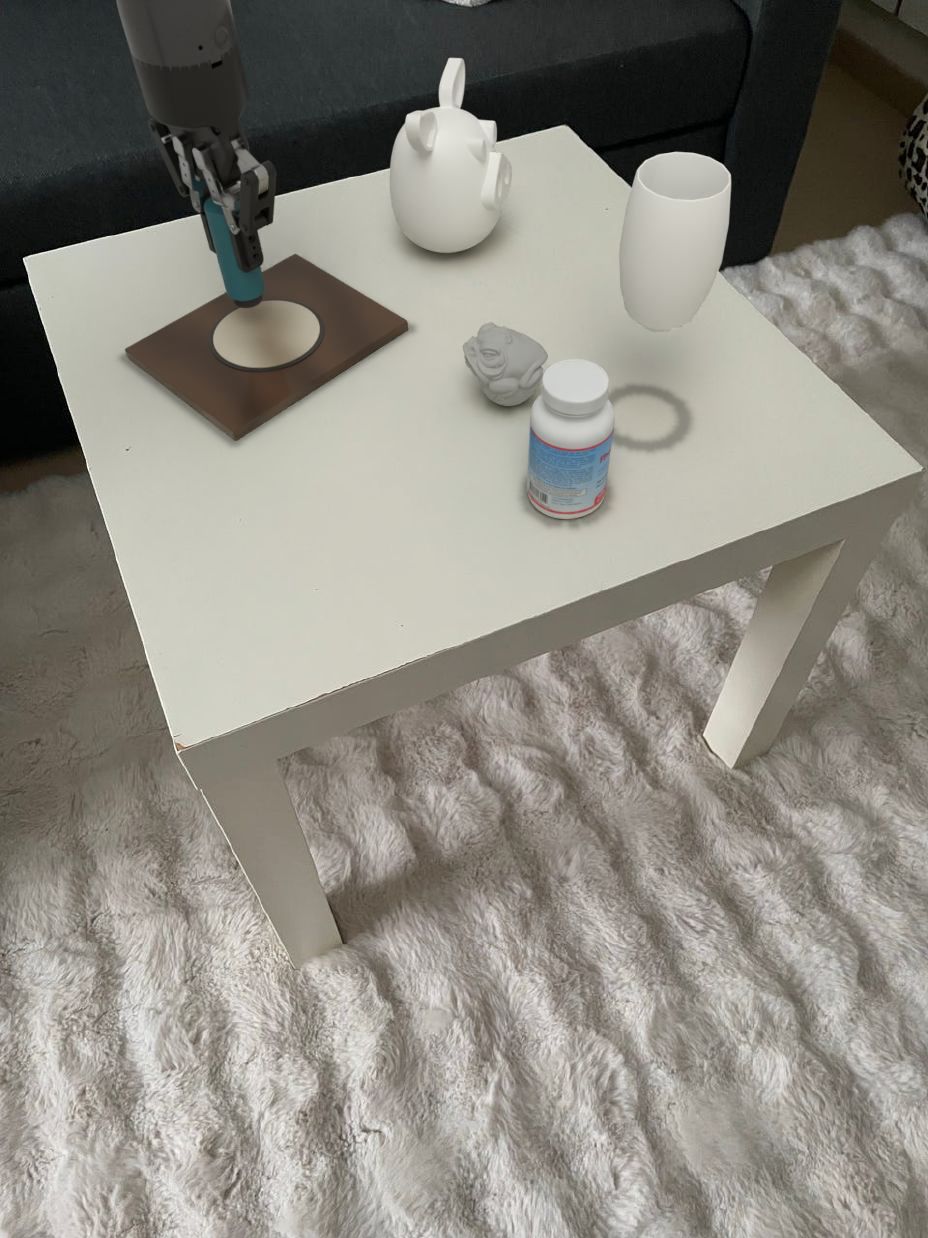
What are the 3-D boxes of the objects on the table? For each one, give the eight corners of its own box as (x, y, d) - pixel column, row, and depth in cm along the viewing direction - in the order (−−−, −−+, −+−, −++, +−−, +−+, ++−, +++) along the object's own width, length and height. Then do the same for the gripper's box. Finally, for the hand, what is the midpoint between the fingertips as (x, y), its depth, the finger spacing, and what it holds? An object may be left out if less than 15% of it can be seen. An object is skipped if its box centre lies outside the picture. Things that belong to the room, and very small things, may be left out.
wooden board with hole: (235, 441, 77) (232, 430, 76) (127, 357, 83) (123, 346, 82) (408, 329, 85) (407, 318, 84) (297, 261, 91) (295, 250, 90)
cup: (626, 458, 74) (666, 216, 57) (582, 404, 78) (607, 163, 61) (702, 430, 76) (762, 188, 59) (655, 378, 80) (699, 137, 63)
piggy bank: (512, 275, 89) (515, 117, 77) (391, 277, 89) (376, 120, 77) (509, 205, 96) (512, 50, 84) (398, 207, 97) (384, 53, 85)
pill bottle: (613, 516, 71) (631, 403, 62) (535, 527, 70) (542, 414, 61) (593, 461, 74) (608, 346, 65) (519, 471, 74) (523, 357, 65)
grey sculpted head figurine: (461, 378, 80) (459, 310, 75) (540, 372, 81) (544, 303, 75) (467, 426, 77) (465, 358, 71) (550, 419, 77) (555, 351, 71)
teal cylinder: (244, 316, 80) (220, 219, 73) (221, 300, 82) (195, 203, 75) (275, 298, 82) (254, 202, 75) (251, 283, 83) (228, 187, 76)
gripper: (81, 26, 66) (153, 245, 80) (198, 87, 60) (254, 312, 74) (168, -7, 69) (222, 210, 83) (287, 47, 63) (325, 271, 77)
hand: (237, 257), depth 78 cm, fingers closed on teal cylinder, 3 cm apart
